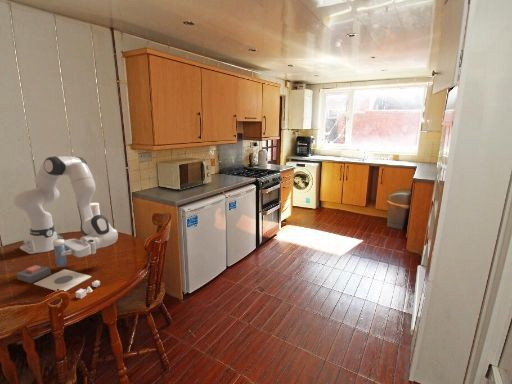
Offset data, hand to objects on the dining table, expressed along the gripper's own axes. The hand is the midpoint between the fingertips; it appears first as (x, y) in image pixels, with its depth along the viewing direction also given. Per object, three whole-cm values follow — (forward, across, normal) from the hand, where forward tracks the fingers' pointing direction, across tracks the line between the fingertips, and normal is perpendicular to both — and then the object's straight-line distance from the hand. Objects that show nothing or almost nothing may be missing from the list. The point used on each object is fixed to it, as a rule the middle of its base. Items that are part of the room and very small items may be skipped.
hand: (57, 252), depth 141 cm
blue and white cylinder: (-1, 0, +7) cm, 7 cm away
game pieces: (-4, +20, +16) cm, 26 cm away
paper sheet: (-1, 0, +16) cm, 16 cm away
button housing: (+6, -16, +16) cm, 23 cm away
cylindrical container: (-39, -43, +16) cm, 60 cm away
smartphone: (-22, -70, +16) cm, 75 cm away
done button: (+6, -16, +14) cm, 22 cm away
